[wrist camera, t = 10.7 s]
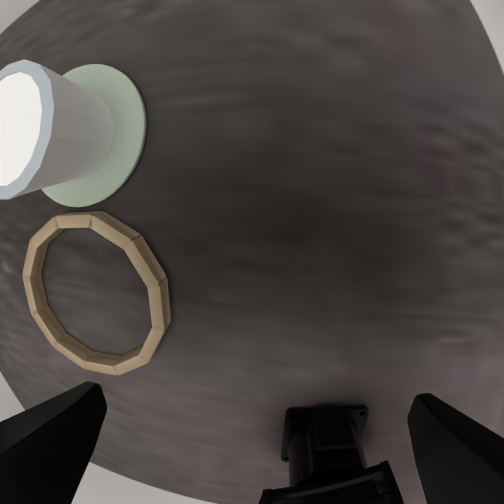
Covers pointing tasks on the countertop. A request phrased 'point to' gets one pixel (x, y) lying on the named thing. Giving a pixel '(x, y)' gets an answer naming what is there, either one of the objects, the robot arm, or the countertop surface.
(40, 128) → the shot glass
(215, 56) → the countertop surface
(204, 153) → the countertop surface
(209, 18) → the countertop surface
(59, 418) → the robot arm
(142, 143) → the pale green round disc
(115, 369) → the collar
